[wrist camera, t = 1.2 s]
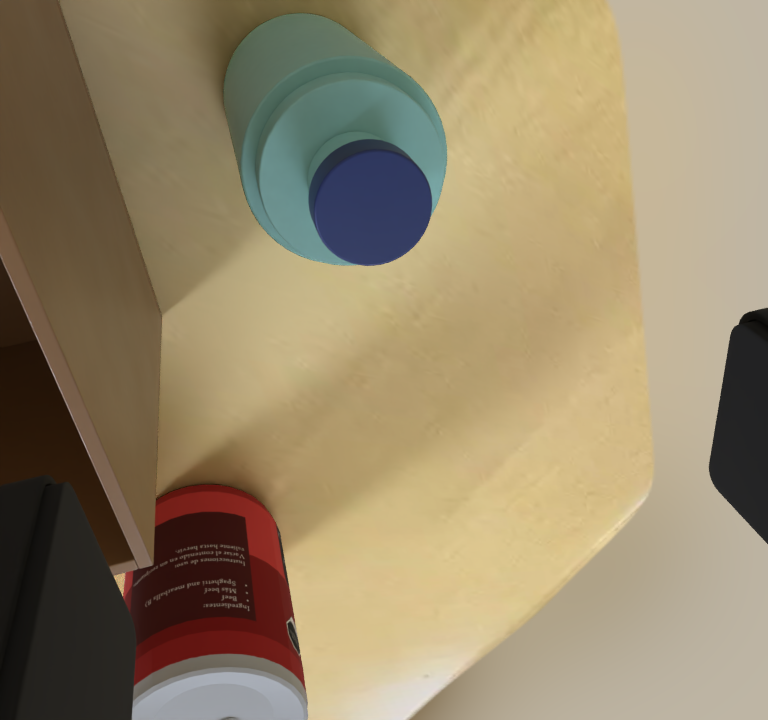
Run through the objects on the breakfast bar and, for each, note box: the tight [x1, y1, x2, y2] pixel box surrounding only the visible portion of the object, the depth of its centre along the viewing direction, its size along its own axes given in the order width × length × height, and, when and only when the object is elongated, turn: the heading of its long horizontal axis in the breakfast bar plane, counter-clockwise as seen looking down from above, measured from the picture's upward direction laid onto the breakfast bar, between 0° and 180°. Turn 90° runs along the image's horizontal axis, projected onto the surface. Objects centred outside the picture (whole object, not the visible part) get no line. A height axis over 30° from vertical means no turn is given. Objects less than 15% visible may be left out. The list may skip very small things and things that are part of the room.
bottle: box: [223, 13, 447, 266], centre depth 23 cm, size 6×6×12 cm
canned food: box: [123, 485, 308, 720], centre depth 34 cm, size 8×8×11 cm
